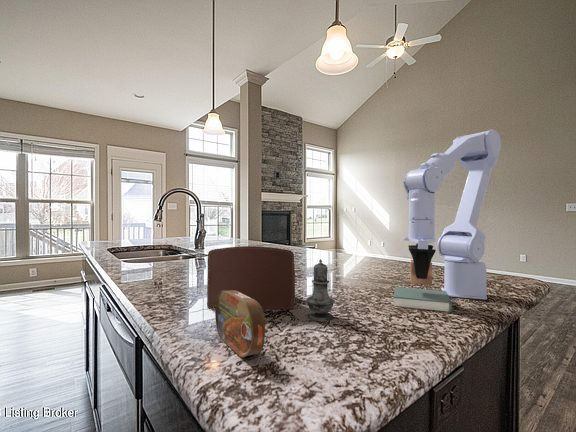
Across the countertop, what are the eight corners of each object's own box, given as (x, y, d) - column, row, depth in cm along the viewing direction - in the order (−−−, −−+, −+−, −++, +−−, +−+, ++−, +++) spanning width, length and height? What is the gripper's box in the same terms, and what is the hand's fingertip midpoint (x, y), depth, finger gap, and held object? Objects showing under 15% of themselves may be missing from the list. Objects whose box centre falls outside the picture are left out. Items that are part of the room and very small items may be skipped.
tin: (213, 332, 56) (213, 286, 56) (230, 328, 58) (230, 283, 58) (249, 367, 43) (249, 308, 43) (269, 362, 45) (269, 304, 45)
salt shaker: (333, 323, 61) (334, 261, 61) (304, 320, 62) (304, 260, 62) (335, 313, 67) (335, 257, 66) (308, 311, 68) (308, 256, 68)
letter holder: (294, 310, 69) (294, 247, 69) (206, 308, 70) (206, 246, 70) (295, 297, 79) (295, 242, 79) (218, 296, 80) (218, 242, 80)
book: (446, 301, 77) (446, 290, 77) (451, 313, 67) (452, 301, 67) (394, 296, 81) (394, 286, 81) (393, 307, 72) (393, 296, 72)
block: (430, 281, 75) (430, 260, 75) (431, 285, 71) (432, 263, 71) (410, 279, 77) (410, 259, 77) (410, 283, 73) (411, 262, 73)
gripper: (403, 218, 82) (403, 269, 82) (403, 219, 68) (402, 281, 69) (432, 218, 80) (432, 271, 80) (438, 220, 66) (438, 284, 66)
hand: (420, 276), depth 74 cm, fingers closed on block, 4 cm apart
